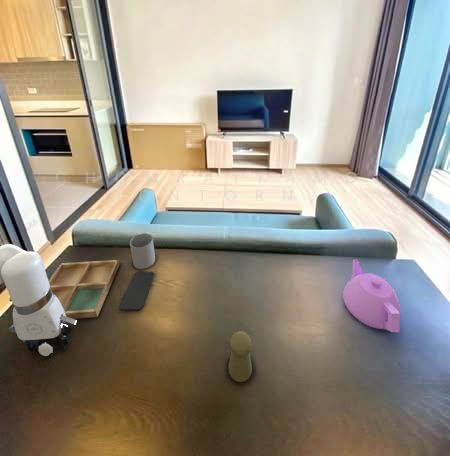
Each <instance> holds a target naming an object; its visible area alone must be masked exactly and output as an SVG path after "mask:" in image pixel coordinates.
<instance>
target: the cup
mask: <svg viewBox="0 0 450 456" xmlns="http://www.w3.org/2000/svg"><path fill="white" fill-rule="evenodd" d="M129 246H130V253H131V258H132V264H133V267H134V268H136V269H138V270H144V269H148V268H150V267H151V266H152V265H154V263H155V262H156V254H155V246H154V237H153V236H152V234H150V233H147V232H145V233H144V232H143V233H139V234H136V235H135V236H133V237H132V238H131V239H130V240H129Z"/></svg>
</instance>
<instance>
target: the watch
mask: <svg viewBox="0 0 450 456" xmlns="http://www.w3.org/2000/svg"><path fill="white" fill-rule="evenodd" d="M59 340H60V337H58V336H57V337H54V338H49V339H39V340H37V341H36V342H35V351H36V352H39V354H40V355H42V356H44V357H47V356H49V355H50V354H51V353H52V354H53V353H57V352H60V351H62V350H63V349H62V347H61V344H60V345H57V346H51V345H50V344H49V343H47V342H51V341H53V342H60V341H59Z"/></svg>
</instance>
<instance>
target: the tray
mask: <svg viewBox="0 0 450 456" xmlns="http://www.w3.org/2000/svg"><path fill="white" fill-rule="evenodd" d="M119 268H120V260H119V259H111V260H96V261H80V262H79V261H78V262H77V261H76V262H62V263H60V264H59V265H58V267H57V268H56V270H54V273H52V275H51V276H50V278H49V279H48V281H49V284H50V287H51V290H52V293H53V294H54V295H55V296H56V297H57V298H58V300H59V301H60V303H61V305H62V307H63V309H64V312H65V315H66V317H69V318H72V319H75V320H77V319H89V318H98V317H99V314H100V312H101V309H102V308H103V305H104V302H105V301H106V298H107V296H108V293H109V291H110V288H111V286H112V283H113V281H114V279H115V276H116V275H117V272H118V269H119Z"/></svg>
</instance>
